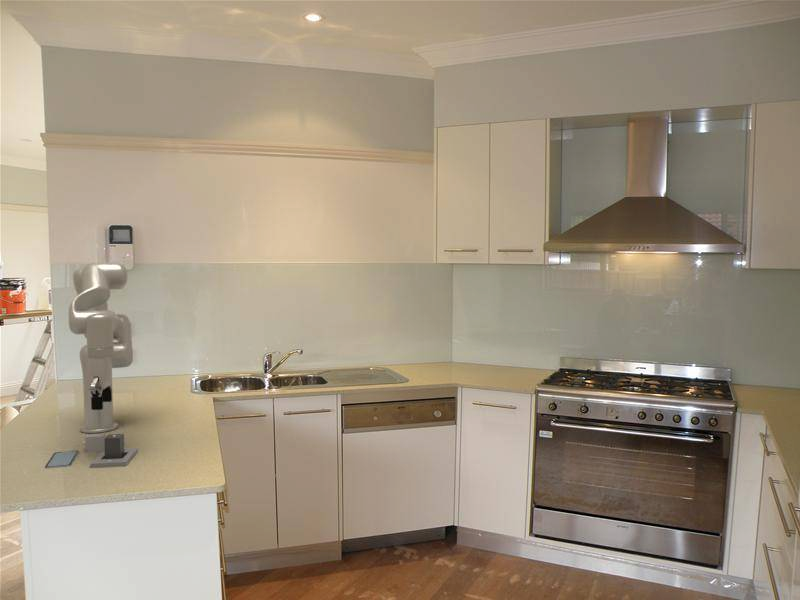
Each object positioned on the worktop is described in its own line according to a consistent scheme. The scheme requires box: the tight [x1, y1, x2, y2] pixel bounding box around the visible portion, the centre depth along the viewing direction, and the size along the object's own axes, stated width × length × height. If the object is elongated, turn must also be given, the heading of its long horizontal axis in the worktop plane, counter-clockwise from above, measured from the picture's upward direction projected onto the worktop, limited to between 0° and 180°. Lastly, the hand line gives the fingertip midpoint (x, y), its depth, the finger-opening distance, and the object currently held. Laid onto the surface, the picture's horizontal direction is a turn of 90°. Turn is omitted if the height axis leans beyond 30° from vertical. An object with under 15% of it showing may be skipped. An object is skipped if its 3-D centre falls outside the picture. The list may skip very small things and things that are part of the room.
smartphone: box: [43, 449, 80, 469], centre depth 192 cm, size 7×1×15 cm
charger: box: [104, 433, 125, 459], centre depth 192 cm, size 4×4×7 cm
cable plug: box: [81, 433, 106, 453], centre depth 202 cm, size 4×6×5 cm, turn 99°
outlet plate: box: [89, 447, 139, 468], centre depth 192 cm, size 14×10×1 cm
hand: (101, 405), depth 198 cm, fingers open, 9 cm apart
